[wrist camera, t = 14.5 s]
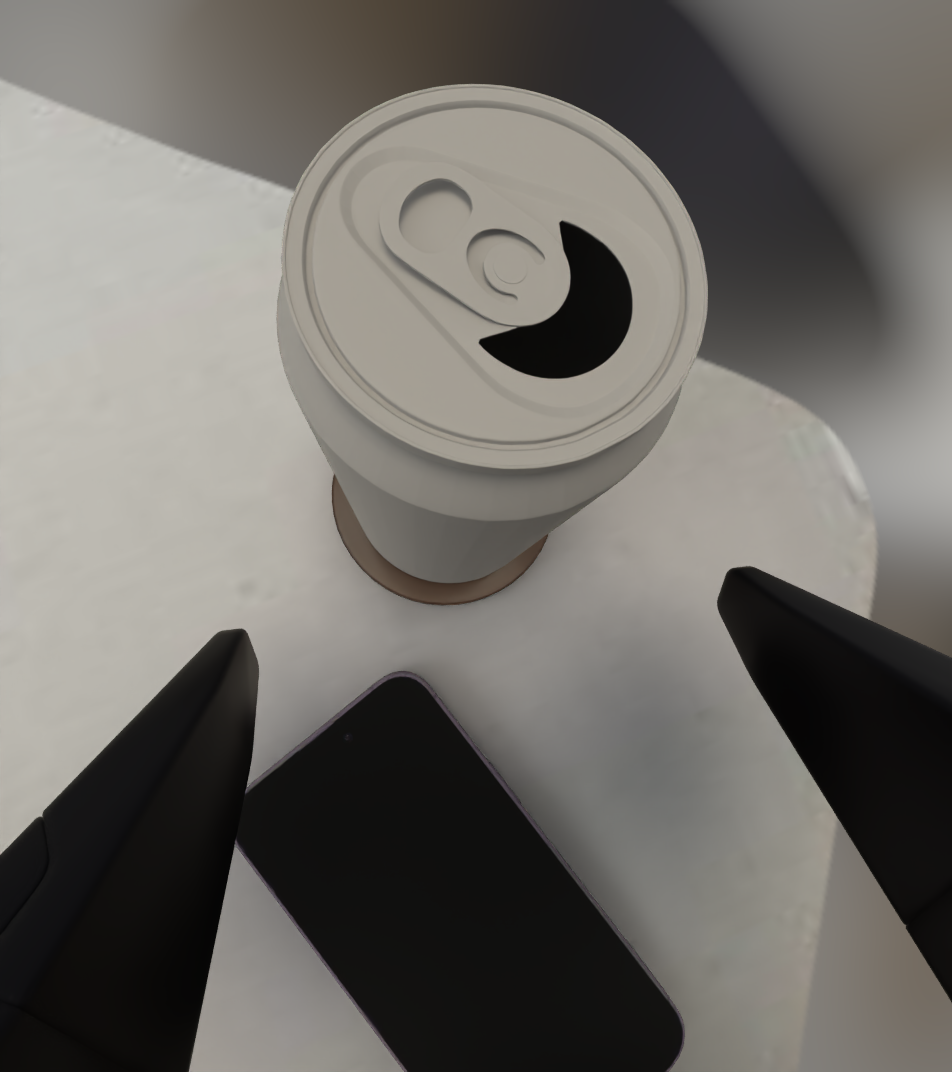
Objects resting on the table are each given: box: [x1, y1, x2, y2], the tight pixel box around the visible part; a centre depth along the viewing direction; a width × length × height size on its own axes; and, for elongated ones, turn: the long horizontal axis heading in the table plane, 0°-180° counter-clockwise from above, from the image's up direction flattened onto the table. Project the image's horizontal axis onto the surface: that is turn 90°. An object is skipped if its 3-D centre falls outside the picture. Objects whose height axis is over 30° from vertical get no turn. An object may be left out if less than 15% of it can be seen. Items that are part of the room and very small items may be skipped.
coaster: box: [332, 474, 549, 605], centre depth 19 cm, size 8×8×1 cm
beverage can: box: [277, 84, 708, 583], centre depth 12 cm, size 6×6×12 cm
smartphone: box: [235, 671, 685, 1072], centre depth 16 cm, size 7×1×15 cm
